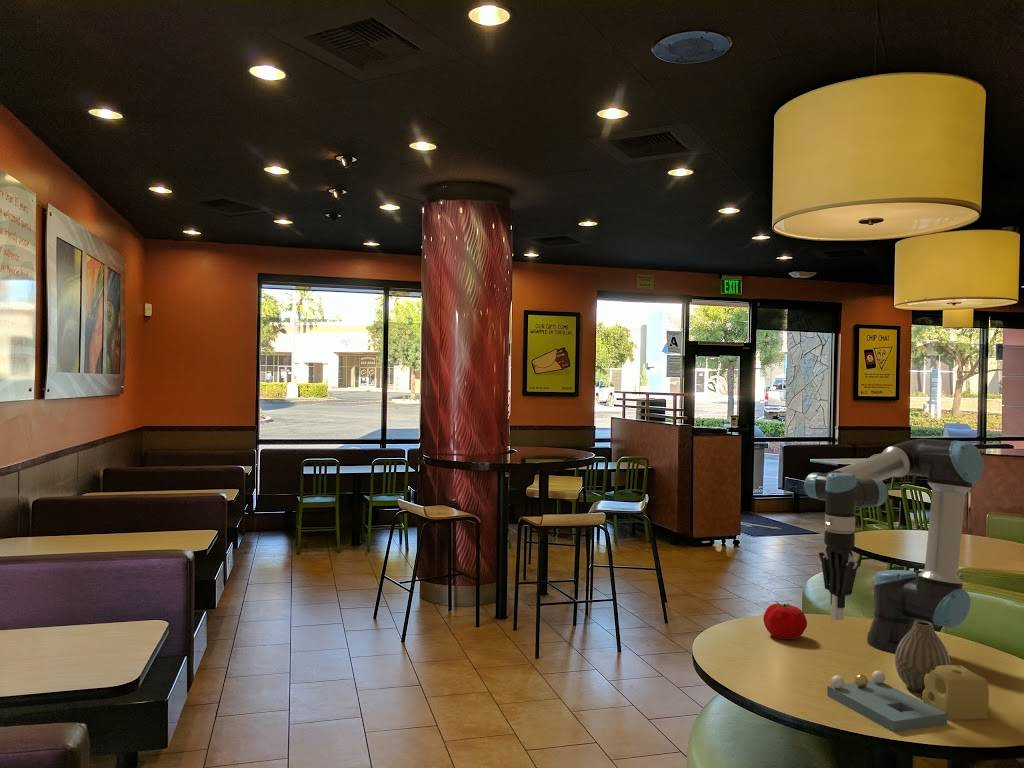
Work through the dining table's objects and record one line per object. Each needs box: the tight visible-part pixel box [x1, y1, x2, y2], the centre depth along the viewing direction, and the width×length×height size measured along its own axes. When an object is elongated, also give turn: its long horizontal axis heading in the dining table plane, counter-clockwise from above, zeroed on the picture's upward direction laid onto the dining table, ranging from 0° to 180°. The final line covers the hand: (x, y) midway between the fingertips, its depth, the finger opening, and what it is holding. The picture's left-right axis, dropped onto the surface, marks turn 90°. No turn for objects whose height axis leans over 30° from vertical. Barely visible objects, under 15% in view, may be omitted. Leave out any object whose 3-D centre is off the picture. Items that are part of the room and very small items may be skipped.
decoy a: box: [871, 670, 886, 684], centre depth 206 cm, size 3×3×3 cm
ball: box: [854, 673, 869, 688], centre depth 203 cm, size 3×3×3 cm
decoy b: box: [830, 674, 846, 689], centre depth 202 cm, size 3×3×3 cm
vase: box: [894, 620, 952, 694], centre depth 209 cm, size 13×13×18 cm
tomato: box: [762, 600, 808, 640], centre depth 250 cm, size 13×12×11 cm
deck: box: [826, 679, 948, 733], centre depth 195 cm, size 16×22×2 cm
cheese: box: [921, 664, 990, 721], centre depth 194 cm, size 10×11×10 cm
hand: (837, 618), depth 211 cm, fingers closed
